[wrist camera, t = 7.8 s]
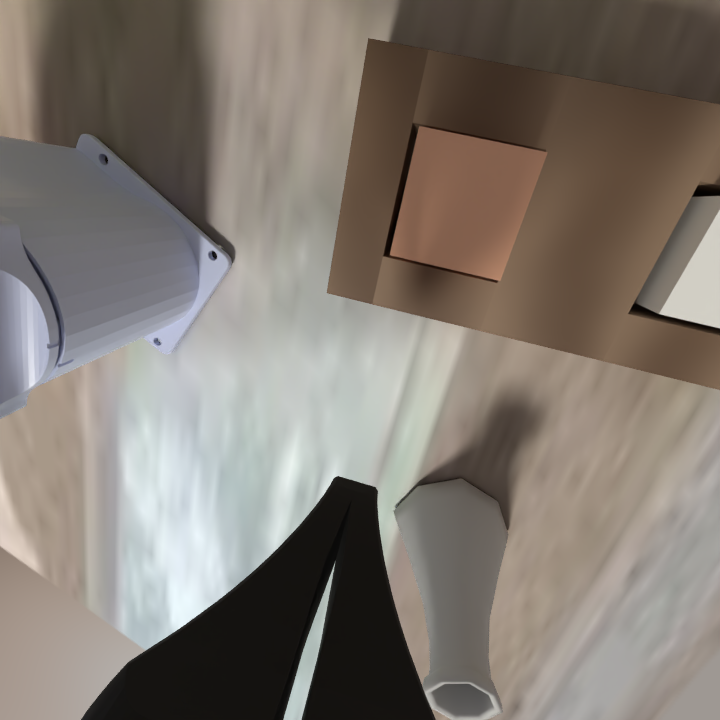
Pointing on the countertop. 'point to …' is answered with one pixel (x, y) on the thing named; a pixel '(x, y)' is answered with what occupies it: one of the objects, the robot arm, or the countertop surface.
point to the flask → (456, 590)
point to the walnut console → (536, 205)
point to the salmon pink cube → (464, 202)
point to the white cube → (688, 267)
